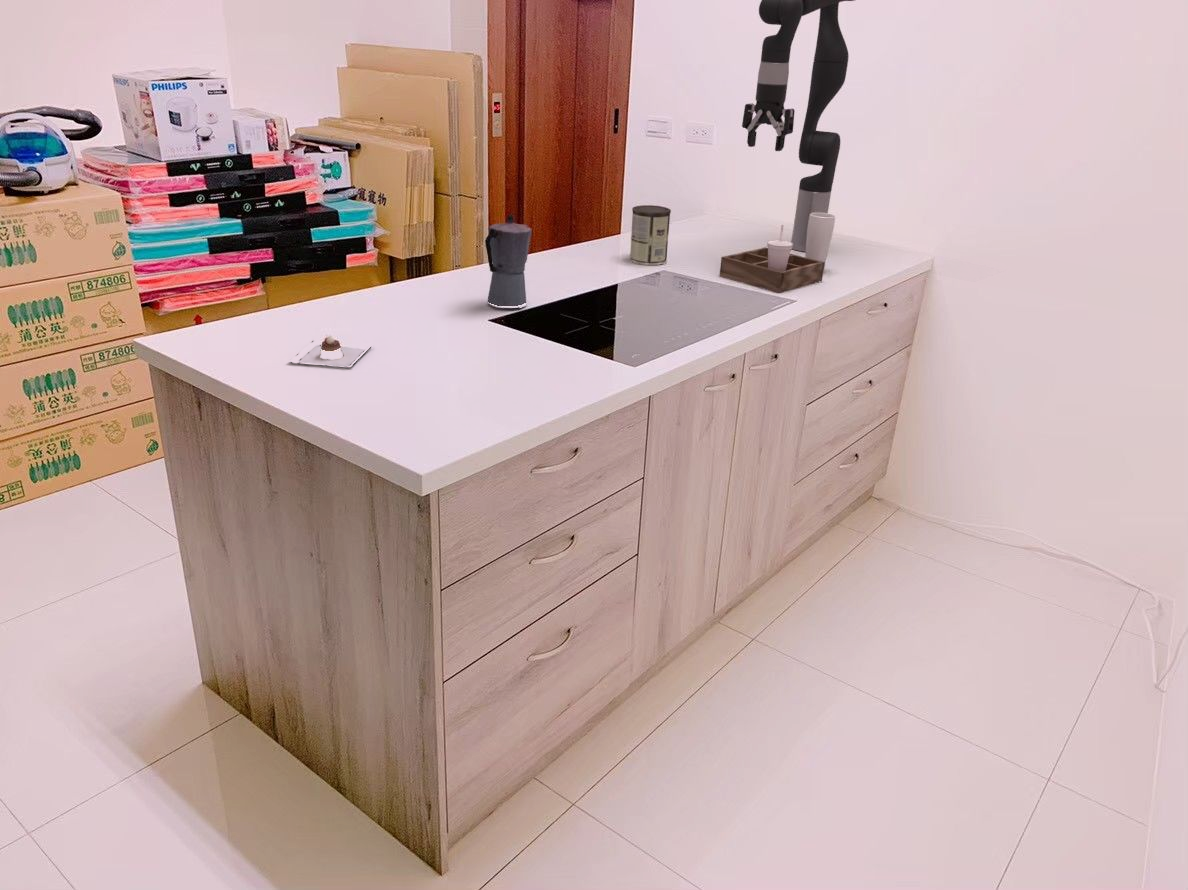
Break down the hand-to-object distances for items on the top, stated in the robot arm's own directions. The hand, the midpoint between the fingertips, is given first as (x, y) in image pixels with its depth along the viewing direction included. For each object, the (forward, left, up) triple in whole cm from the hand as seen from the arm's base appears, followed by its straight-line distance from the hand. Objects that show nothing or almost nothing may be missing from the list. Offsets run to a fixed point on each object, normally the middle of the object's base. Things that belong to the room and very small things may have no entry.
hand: (764, 148), depth 228 cm
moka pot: (+79, -8, -31) cm, 85 cm away
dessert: (+125, -3, -31) cm, 129 cm away
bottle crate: (+8, +13, -31) cm, 34 cm away
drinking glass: (-9, +15, -31) cm, 35 cm away
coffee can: (+22, -18, -31) cm, 42 cm away
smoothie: (+12, +17, -30) cm, 36 cm away
